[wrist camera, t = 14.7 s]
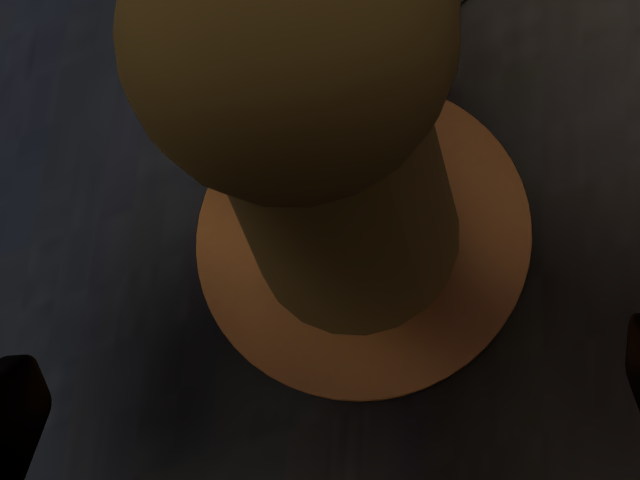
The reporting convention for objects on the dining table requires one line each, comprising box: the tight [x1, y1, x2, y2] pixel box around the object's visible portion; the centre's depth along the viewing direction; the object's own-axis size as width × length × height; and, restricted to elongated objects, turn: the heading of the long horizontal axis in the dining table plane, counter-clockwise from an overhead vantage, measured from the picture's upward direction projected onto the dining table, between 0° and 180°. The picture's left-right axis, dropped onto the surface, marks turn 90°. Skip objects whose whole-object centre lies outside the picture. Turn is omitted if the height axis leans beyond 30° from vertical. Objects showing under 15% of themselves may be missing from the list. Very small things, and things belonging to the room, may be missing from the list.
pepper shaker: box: [113, 0, 461, 336], centre depth 13 cm, size 6×6×11 cm
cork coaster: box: [196, 100, 532, 402], centre depth 18 cm, size 10×10×1 cm
